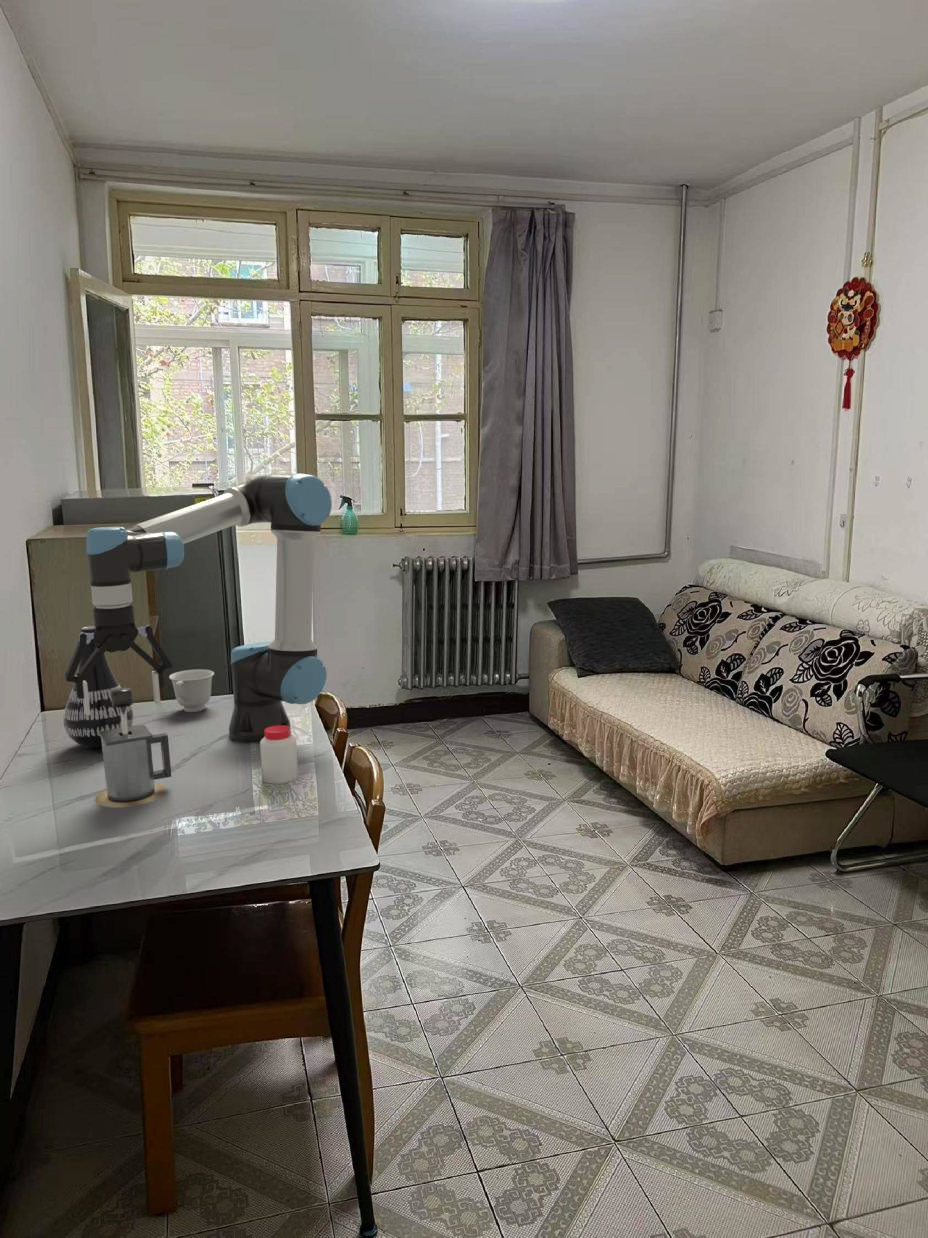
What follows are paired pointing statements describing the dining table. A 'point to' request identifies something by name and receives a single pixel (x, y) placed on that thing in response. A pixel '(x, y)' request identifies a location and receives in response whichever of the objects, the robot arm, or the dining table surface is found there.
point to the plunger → (122, 705)
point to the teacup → (192, 688)
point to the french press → (132, 763)
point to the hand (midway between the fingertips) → (123, 708)
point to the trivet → (104, 801)
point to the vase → (94, 702)
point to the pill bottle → (279, 755)
